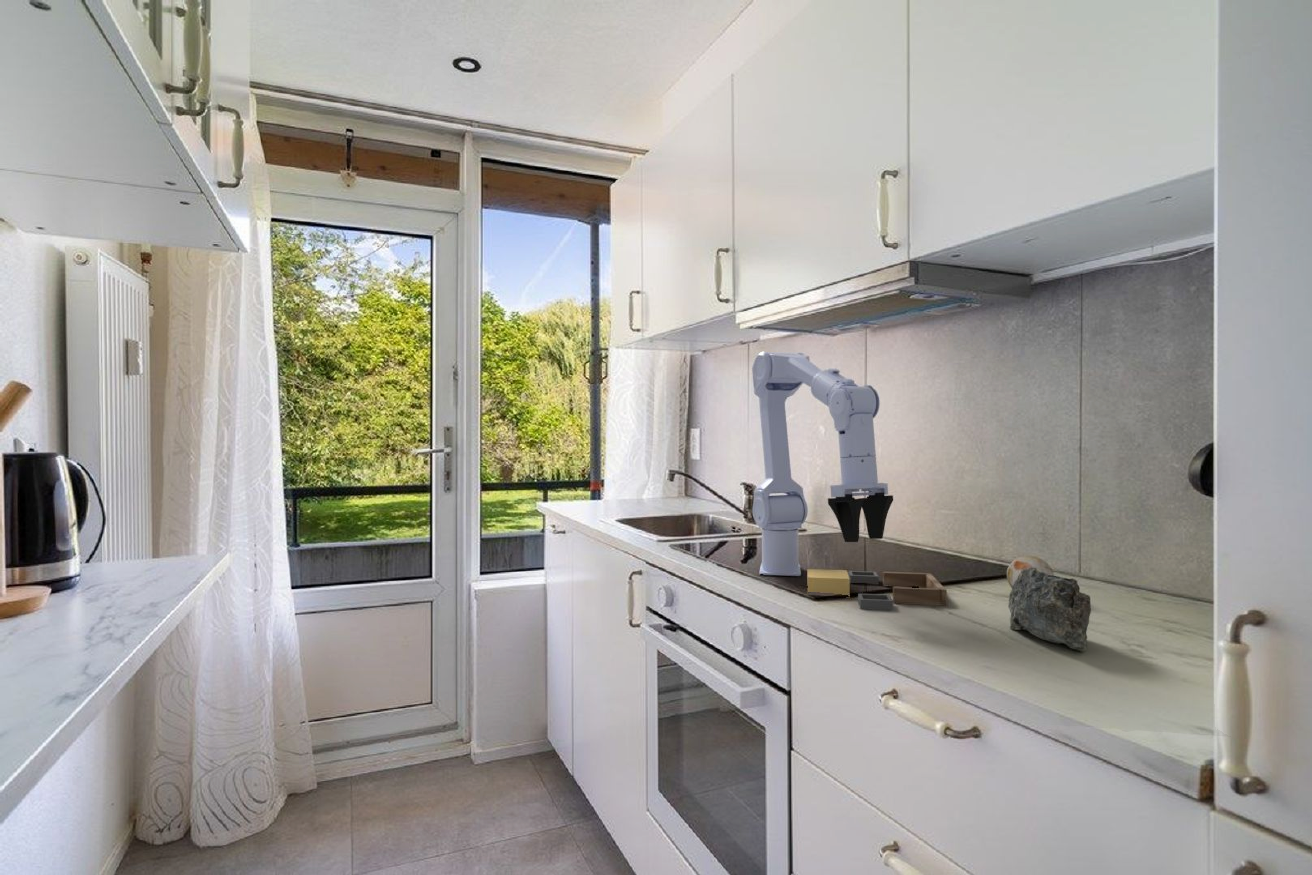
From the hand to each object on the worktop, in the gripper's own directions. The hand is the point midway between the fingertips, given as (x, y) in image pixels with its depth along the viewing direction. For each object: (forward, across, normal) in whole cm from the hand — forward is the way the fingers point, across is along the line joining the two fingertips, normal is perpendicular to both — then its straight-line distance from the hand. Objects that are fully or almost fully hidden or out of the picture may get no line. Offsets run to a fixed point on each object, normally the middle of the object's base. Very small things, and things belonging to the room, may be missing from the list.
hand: (864, 540), depth 113 cm
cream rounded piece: (+12, +23, -17) cm, 31 cm away
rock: (+14, +2, -25) cm, 29 cm away
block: (+10, +4, +10) cm, 15 cm away
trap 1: (+9, +16, +10) cm, 21 cm away
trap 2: (+11, +1, 0) cm, 11 cm away
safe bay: (+10, +12, -1) cm, 16 cm away
